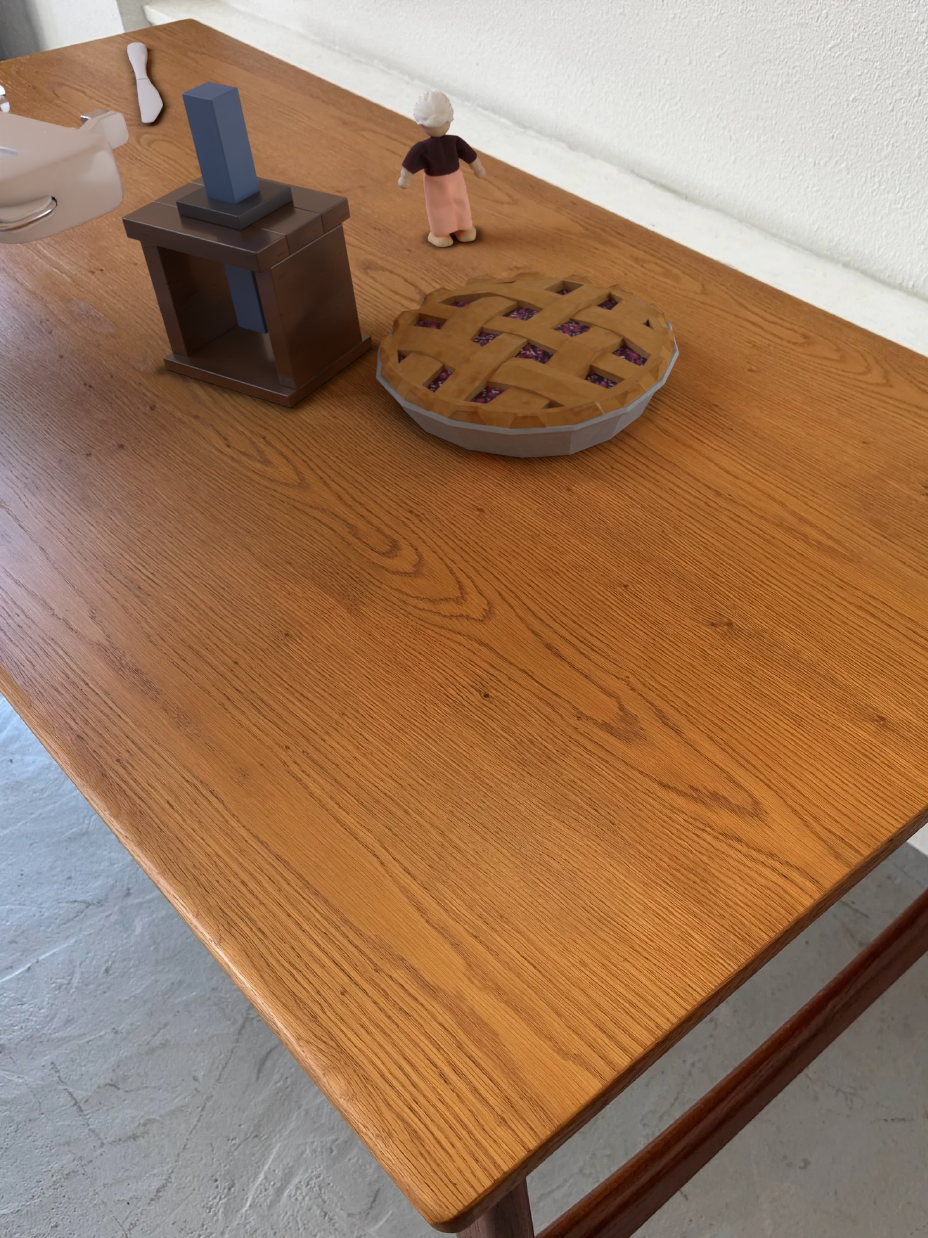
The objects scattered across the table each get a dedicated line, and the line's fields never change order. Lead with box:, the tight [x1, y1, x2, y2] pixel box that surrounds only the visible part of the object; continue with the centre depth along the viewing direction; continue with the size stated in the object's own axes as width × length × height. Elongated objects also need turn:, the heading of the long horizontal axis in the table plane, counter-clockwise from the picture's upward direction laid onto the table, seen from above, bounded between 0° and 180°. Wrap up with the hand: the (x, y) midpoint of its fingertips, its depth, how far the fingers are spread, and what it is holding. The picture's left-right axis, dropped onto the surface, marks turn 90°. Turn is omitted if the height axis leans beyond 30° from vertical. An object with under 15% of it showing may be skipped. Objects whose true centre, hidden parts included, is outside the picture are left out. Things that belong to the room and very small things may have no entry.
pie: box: [375, 271, 680, 459], centre depth 91 cm, size 22×22×5 cm
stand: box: [121, 175, 373, 409], centre depth 92 cm, size 10×12×12 cm
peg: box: [176, 81, 293, 334], centre depth 88 cm, size 6×6×17 cm
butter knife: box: [126, 41, 163, 124], centre depth 140 cm, size 1×27×3 cm
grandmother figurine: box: [397, 90, 487, 248], centre depth 107 cm, size 8×4×13 cm, turn 126°
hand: (56, 109), depth 73 cm, fingers open, 8 cm apart
